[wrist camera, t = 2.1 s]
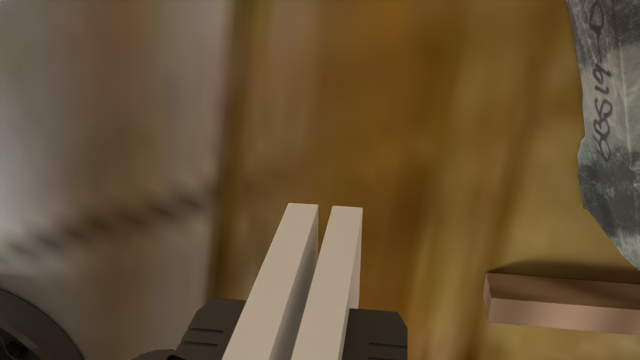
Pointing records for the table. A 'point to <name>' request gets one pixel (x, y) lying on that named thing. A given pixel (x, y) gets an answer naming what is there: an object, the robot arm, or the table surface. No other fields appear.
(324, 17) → the table surface
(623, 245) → the stone block
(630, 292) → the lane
